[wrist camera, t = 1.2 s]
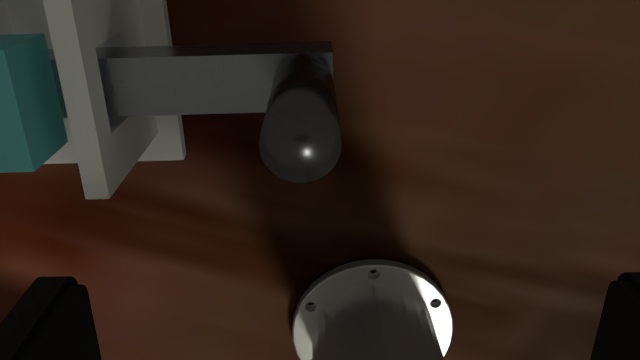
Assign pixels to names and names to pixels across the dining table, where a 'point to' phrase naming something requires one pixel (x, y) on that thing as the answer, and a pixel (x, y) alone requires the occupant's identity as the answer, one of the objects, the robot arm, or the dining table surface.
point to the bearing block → (99, 83)
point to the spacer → (28, 104)
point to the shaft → (234, 94)
